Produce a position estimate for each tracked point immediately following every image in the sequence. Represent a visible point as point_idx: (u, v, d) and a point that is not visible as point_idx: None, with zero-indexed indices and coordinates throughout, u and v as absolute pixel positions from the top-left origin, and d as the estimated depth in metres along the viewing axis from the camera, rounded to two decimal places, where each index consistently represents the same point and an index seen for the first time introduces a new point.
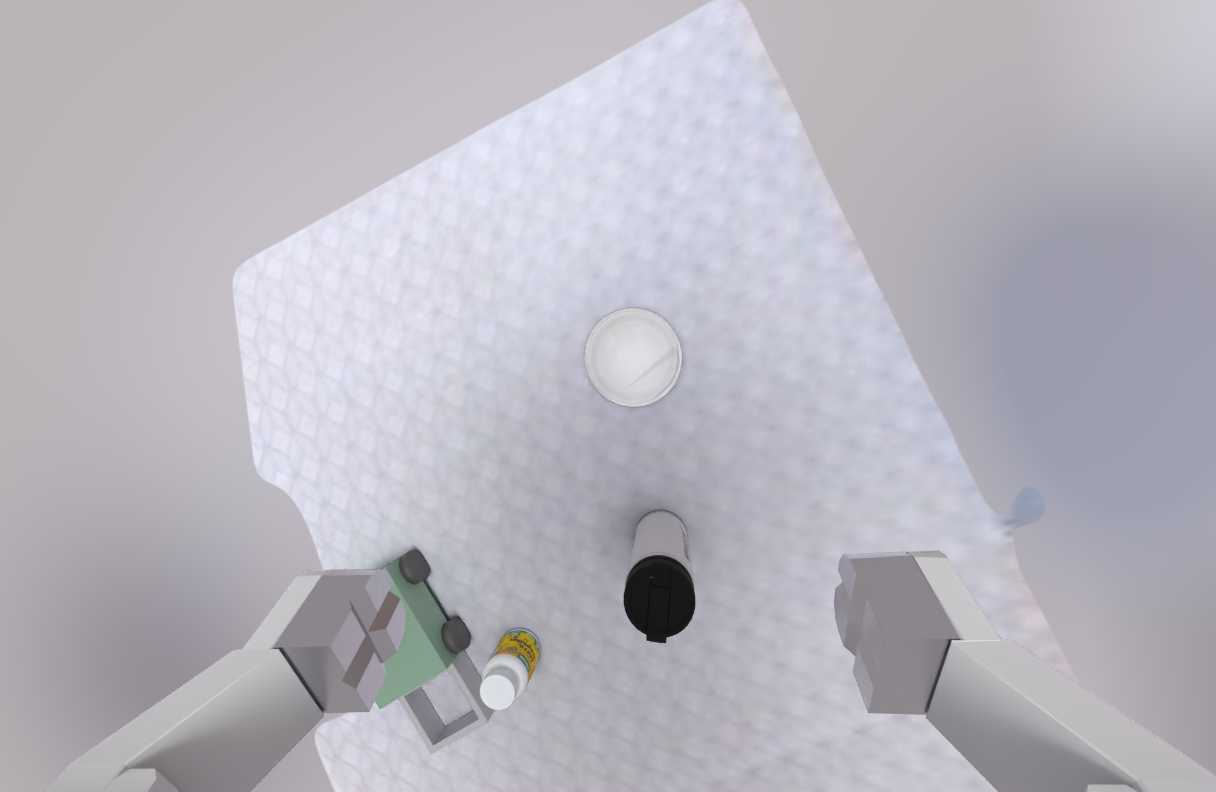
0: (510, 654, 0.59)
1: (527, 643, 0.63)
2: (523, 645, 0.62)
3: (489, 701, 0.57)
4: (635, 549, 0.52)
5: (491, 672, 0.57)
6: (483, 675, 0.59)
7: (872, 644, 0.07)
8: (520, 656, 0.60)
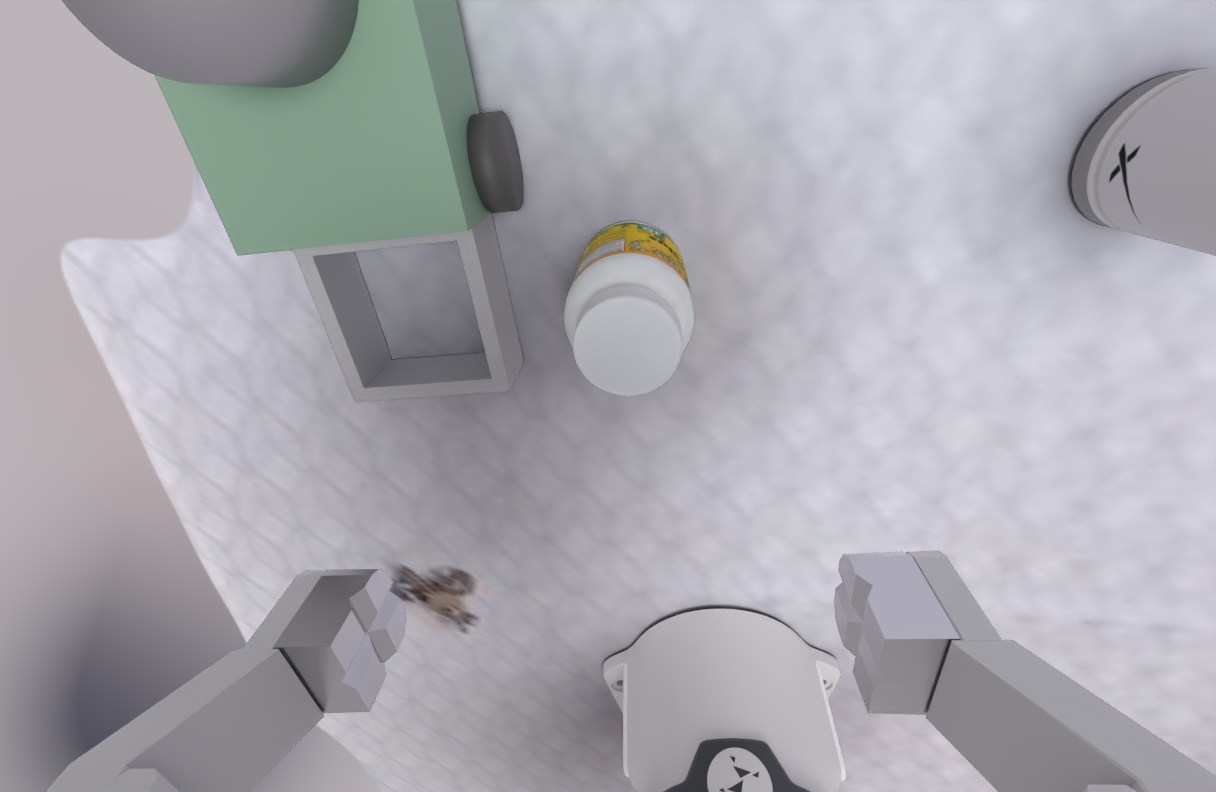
0: (672, 268, 0.20)
1: (683, 265, 0.24)
2: (682, 266, 0.23)
3: (593, 362, 0.19)
4: None
5: (630, 290, 0.18)
6: (580, 289, 0.20)
7: (872, 644, 0.07)
8: (688, 285, 0.21)
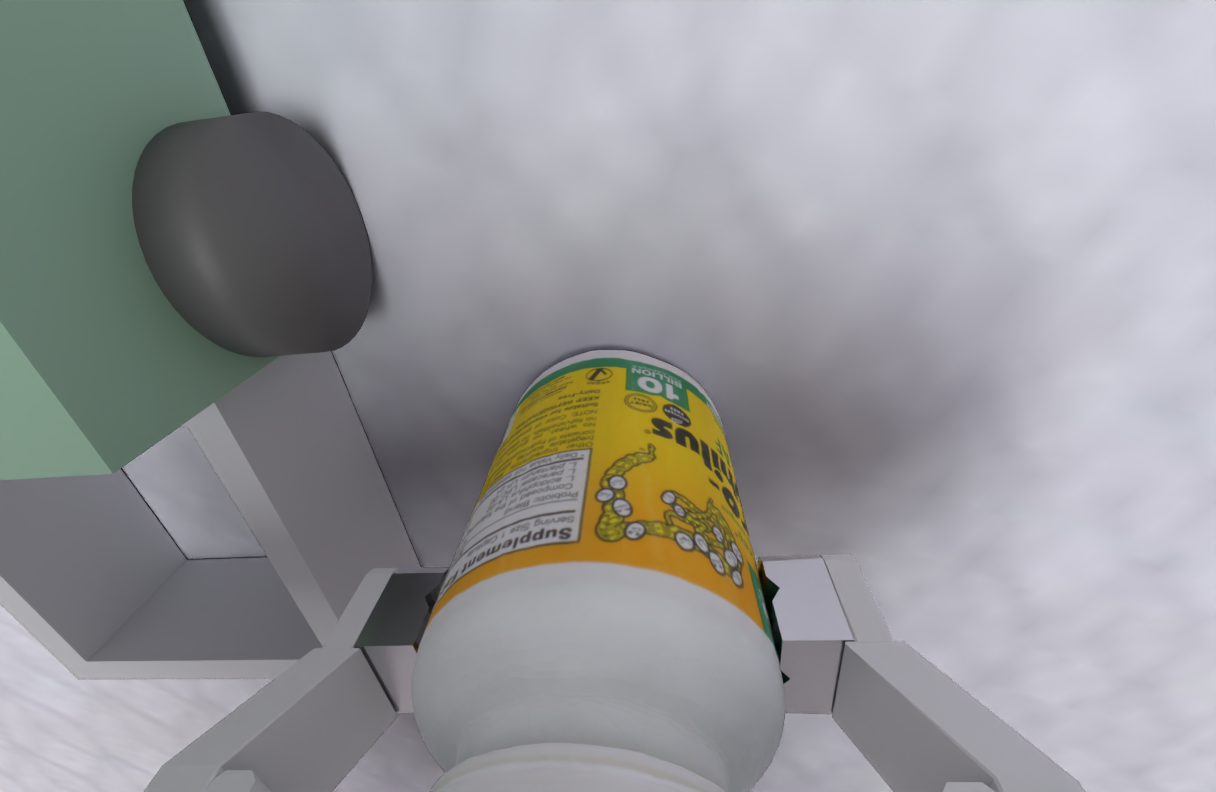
0: (725, 601, 0.07)
1: (732, 474, 0.10)
2: (734, 496, 0.09)
3: None
4: None
5: None
6: (439, 675, 0.06)
7: (776, 645, 0.08)
8: (763, 607, 0.07)
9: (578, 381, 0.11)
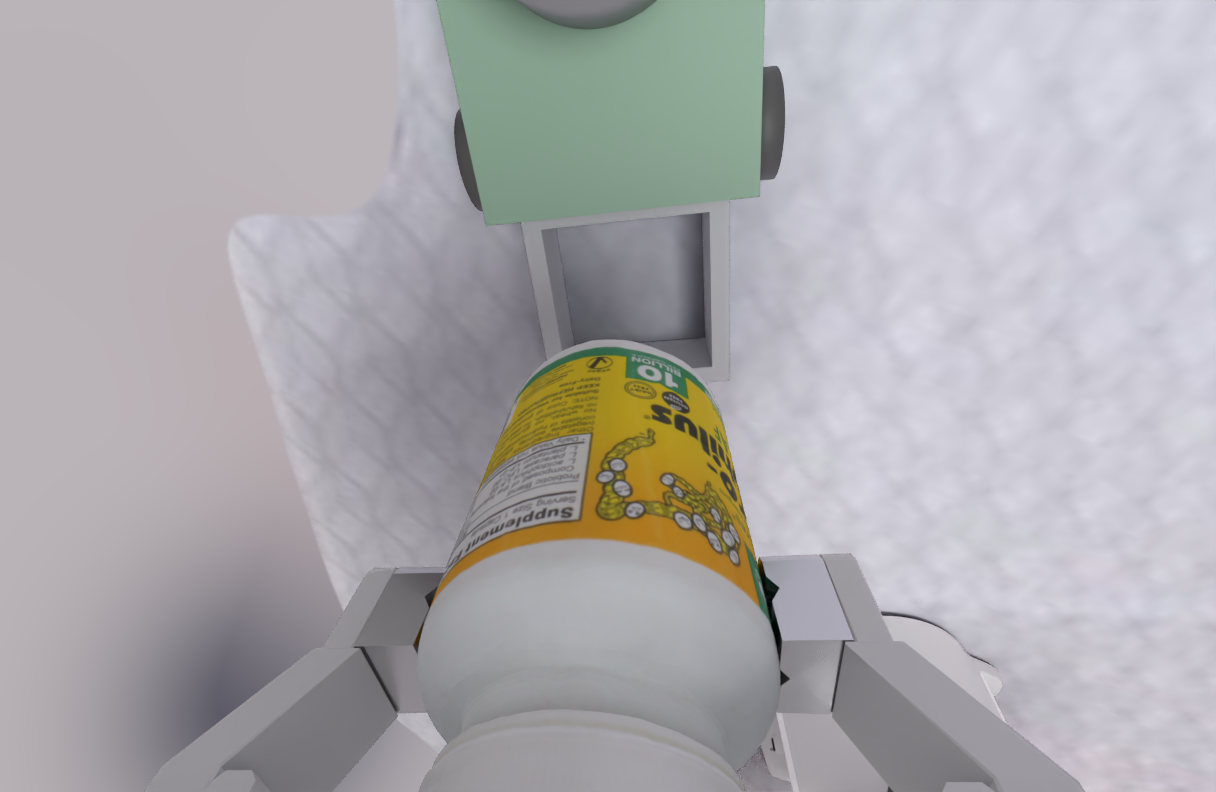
0: (723, 578, 0.07)
1: (730, 461, 0.10)
2: (732, 480, 0.09)
3: None
4: None
5: (583, 787, 0.05)
6: (444, 649, 0.07)
7: (776, 645, 0.08)
8: (759, 587, 0.08)
9: (579, 369, 0.11)
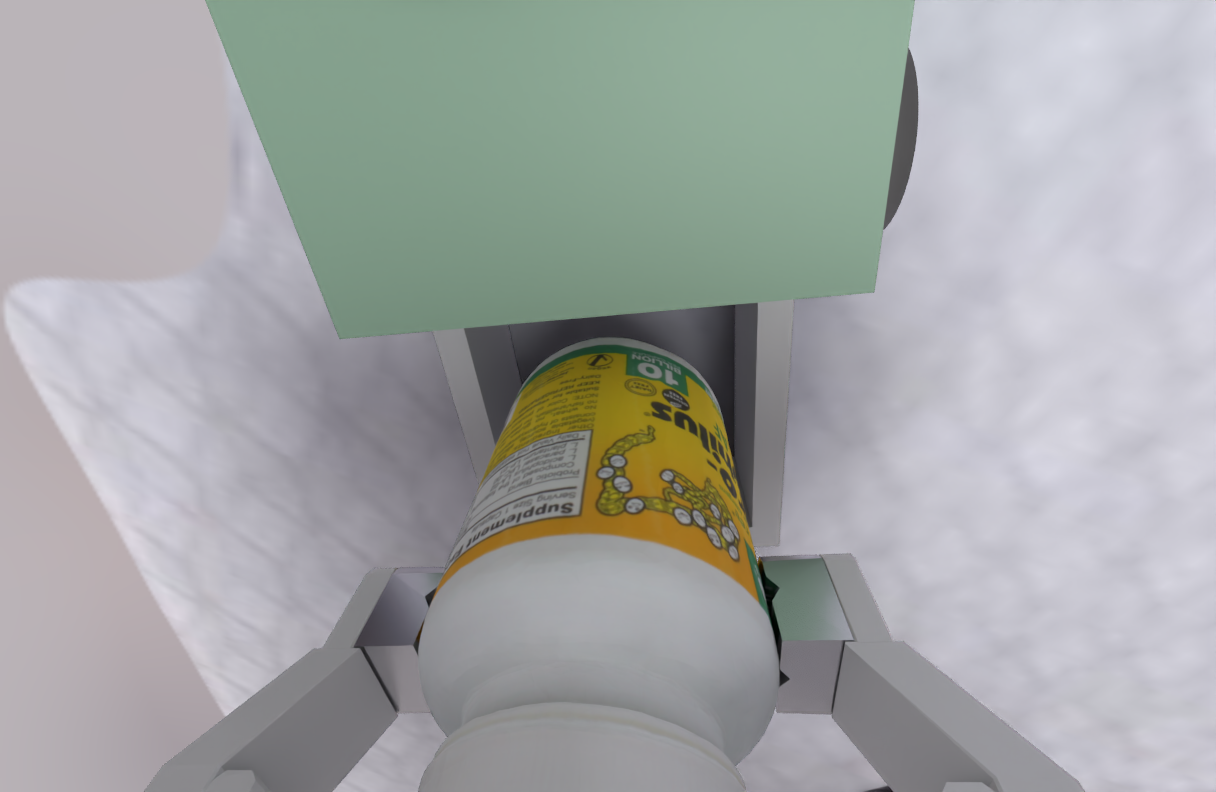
0: (722, 572, 0.07)
1: (730, 458, 0.10)
2: (731, 477, 0.09)
3: None
4: None
5: (582, 778, 0.05)
6: (445, 643, 0.07)
7: (776, 645, 0.08)
8: (759, 582, 0.08)
9: (579, 367, 0.11)
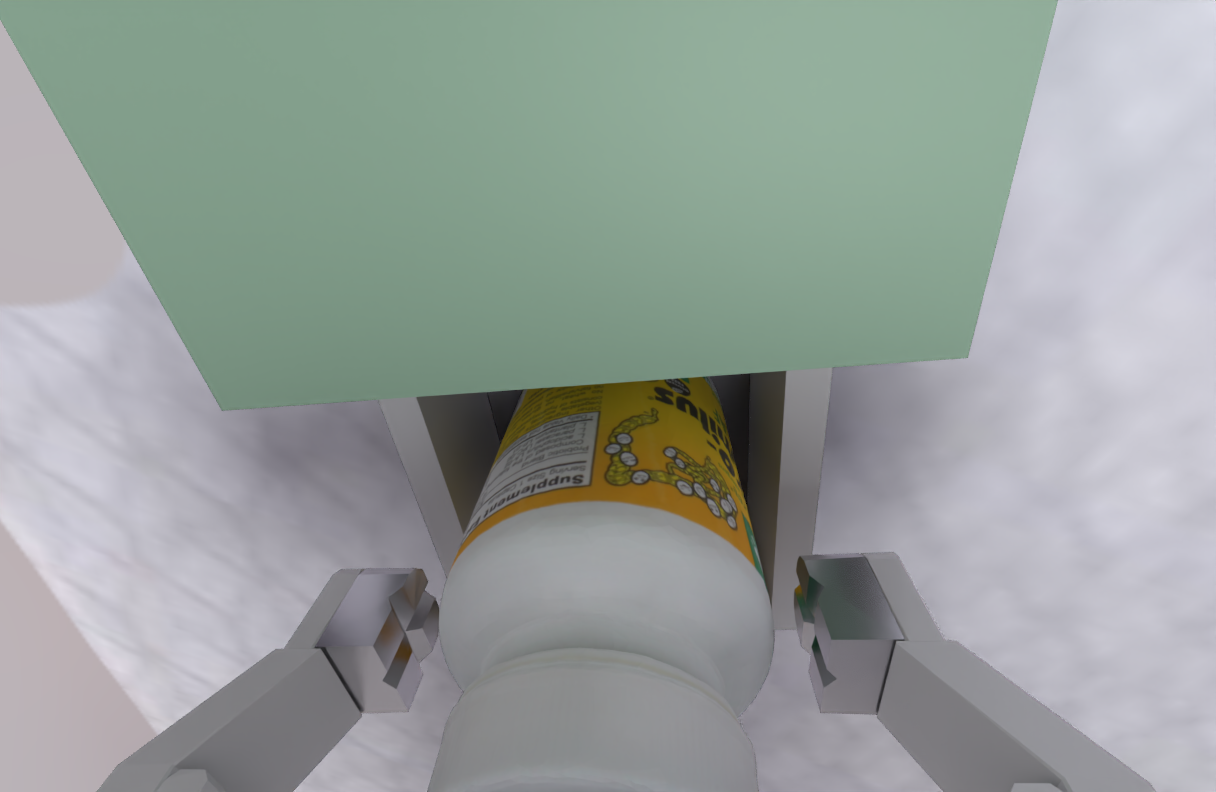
0: (720, 537, 0.07)
1: (728, 441, 0.11)
2: (730, 458, 0.10)
3: None
4: None
5: (596, 708, 0.05)
6: (466, 602, 0.07)
7: (822, 645, 0.07)
8: (755, 551, 0.08)
9: None
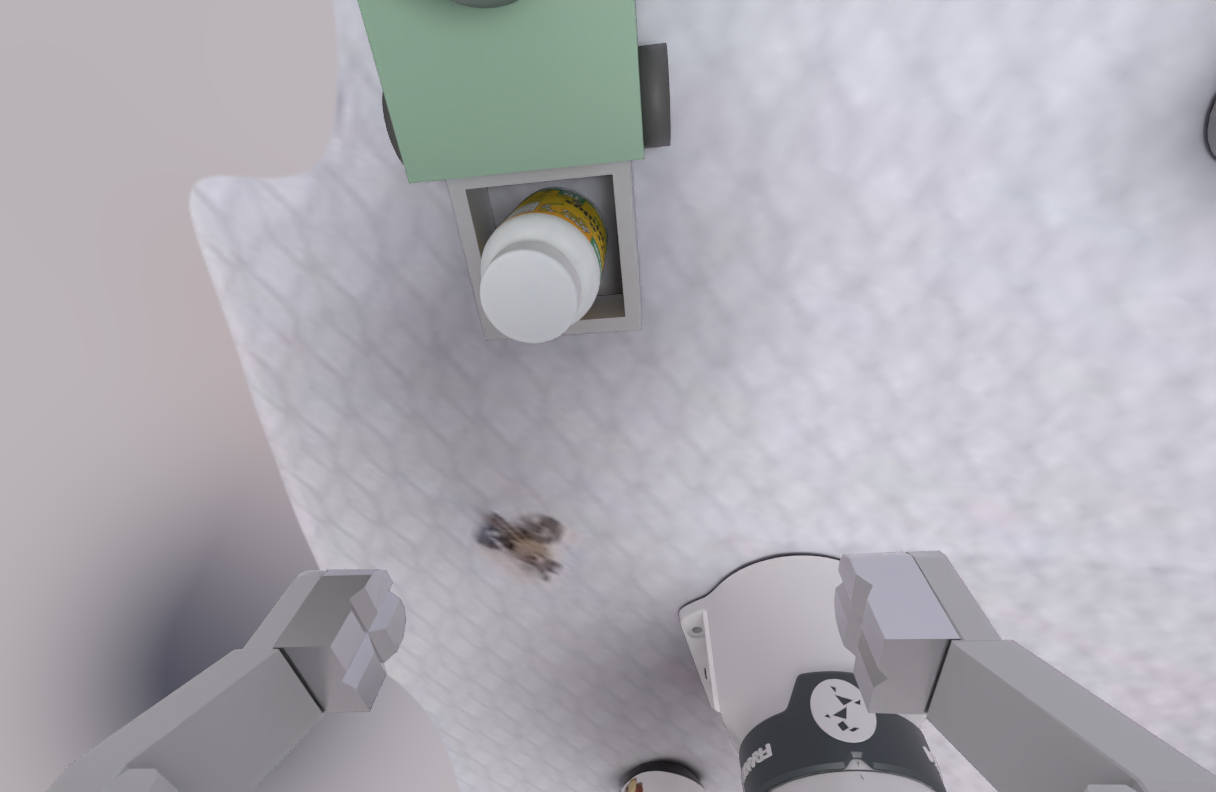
0: (576, 228, 0.22)
1: (599, 228, 0.26)
2: (595, 228, 0.25)
3: (499, 311, 0.21)
4: None
5: (529, 244, 0.20)
6: (491, 246, 0.22)
7: (872, 644, 0.07)
8: (594, 244, 0.23)
9: (539, 193, 0.26)
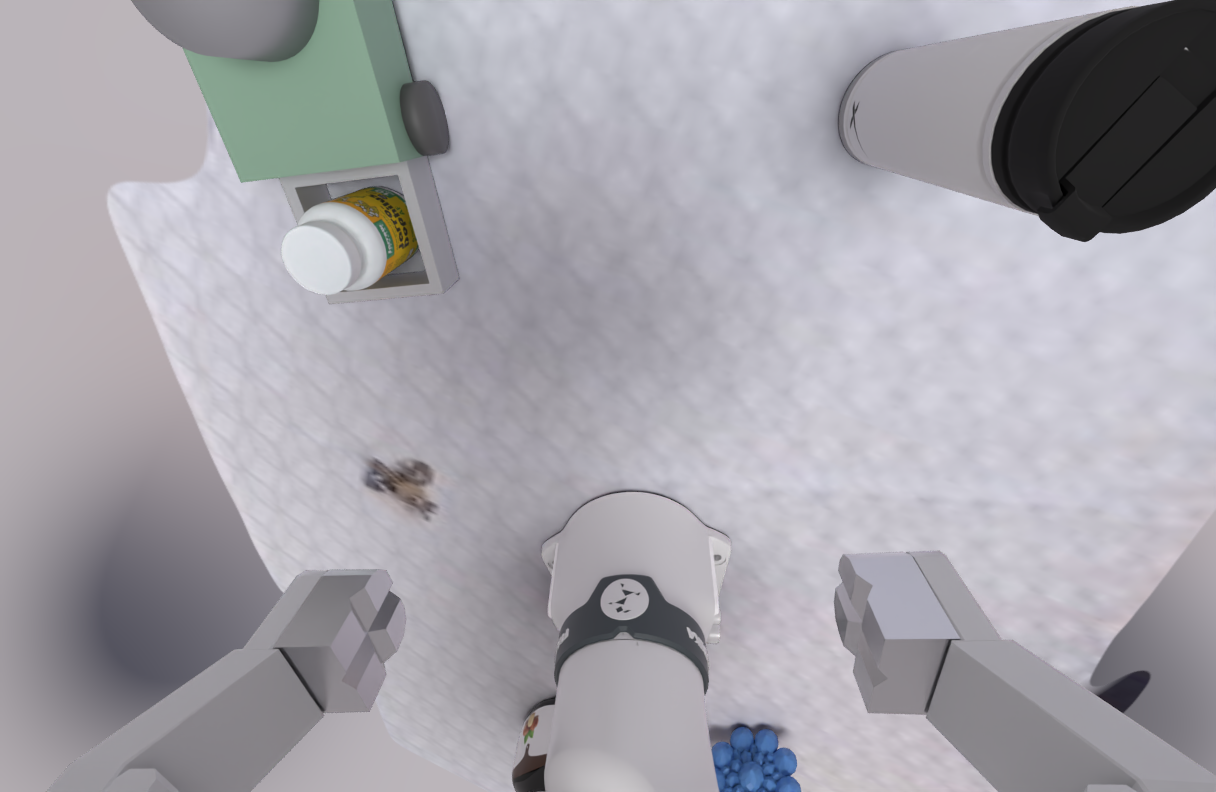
0: (360, 212, 0.31)
1: (400, 216, 0.34)
2: (392, 215, 0.33)
3: (297, 271, 0.30)
4: (993, 36, 0.20)
5: (312, 222, 0.29)
6: (299, 226, 0.31)
7: (872, 644, 0.07)
8: (379, 225, 0.32)
9: (358, 190, 0.35)
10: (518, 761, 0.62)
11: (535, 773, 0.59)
